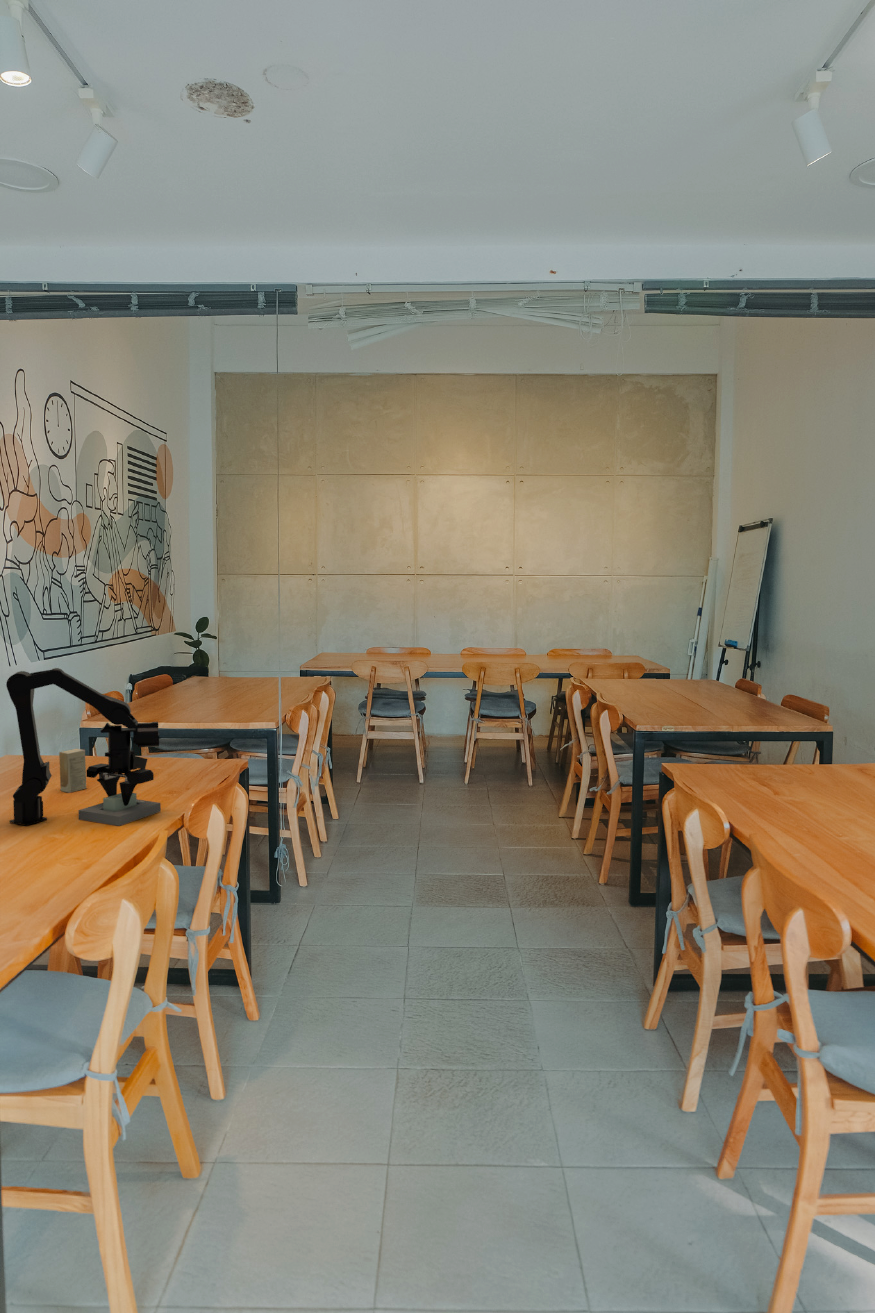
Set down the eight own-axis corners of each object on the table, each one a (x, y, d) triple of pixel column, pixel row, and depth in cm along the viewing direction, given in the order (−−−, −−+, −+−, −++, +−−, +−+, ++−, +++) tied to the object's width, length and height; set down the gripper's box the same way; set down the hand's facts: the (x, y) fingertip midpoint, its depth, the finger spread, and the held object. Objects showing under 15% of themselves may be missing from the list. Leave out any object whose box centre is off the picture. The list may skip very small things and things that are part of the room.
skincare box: (78, 787, 251) (77, 748, 250) (87, 789, 249) (86, 749, 248) (59, 791, 246) (58, 751, 245) (68, 793, 243) (67, 753, 242)
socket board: (119, 826, 211) (119, 816, 211) (78, 819, 216) (78, 809, 216) (160, 811, 225) (160, 802, 225) (121, 805, 231) (121, 796, 230)
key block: (136, 805, 224) (136, 793, 223) (114, 812, 216) (114, 800, 216) (125, 804, 225) (125, 791, 225) (103, 811, 218) (103, 798, 217)
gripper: (167, 746, 223) (167, 801, 224) (115, 740, 230) (115, 794, 232) (138, 753, 213) (138, 811, 214) (84, 746, 220) (85, 803, 221)
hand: (120, 804), depth 221 cm, fingers closed on key block, 4 cm apart
